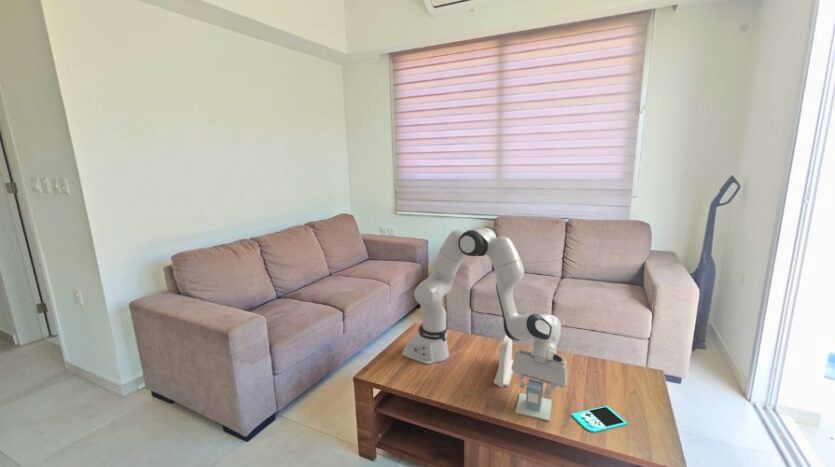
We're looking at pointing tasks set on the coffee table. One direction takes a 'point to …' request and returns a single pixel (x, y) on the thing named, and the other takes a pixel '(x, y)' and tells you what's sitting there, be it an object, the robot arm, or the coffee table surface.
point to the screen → (504, 363)
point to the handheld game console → (599, 419)
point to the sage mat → (543, 413)
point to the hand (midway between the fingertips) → (534, 391)
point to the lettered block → (534, 395)
